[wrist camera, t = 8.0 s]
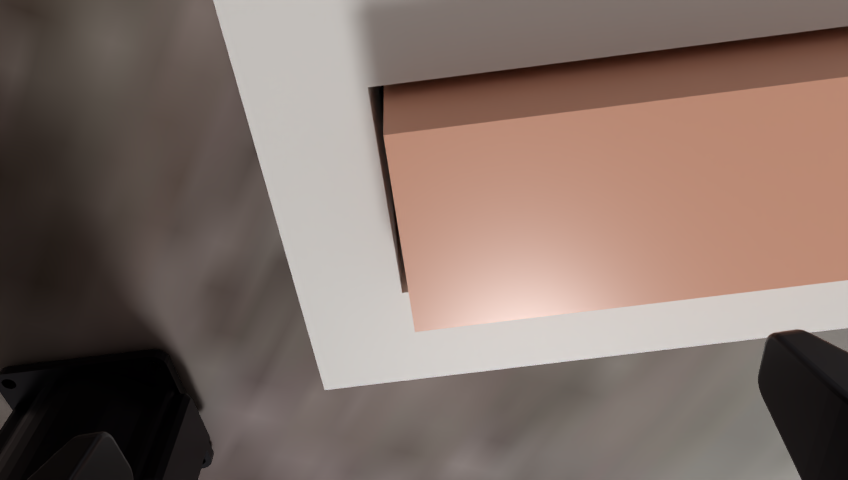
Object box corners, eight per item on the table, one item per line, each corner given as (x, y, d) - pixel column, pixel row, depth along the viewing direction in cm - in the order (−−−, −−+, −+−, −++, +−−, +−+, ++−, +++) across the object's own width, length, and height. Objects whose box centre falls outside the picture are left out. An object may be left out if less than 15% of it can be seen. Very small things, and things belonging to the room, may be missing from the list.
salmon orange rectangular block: (409, 238, 18) (415, 331, 15) (384, 68, 15) (383, 135, 12) (829, 187, 18) (932, 269, 14) (879, 4, 15) (1021, 54, 12)
